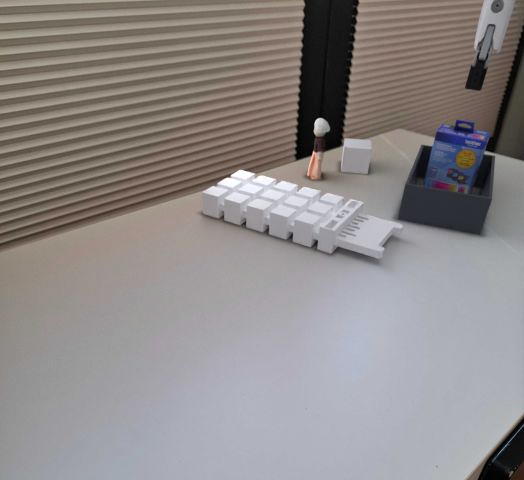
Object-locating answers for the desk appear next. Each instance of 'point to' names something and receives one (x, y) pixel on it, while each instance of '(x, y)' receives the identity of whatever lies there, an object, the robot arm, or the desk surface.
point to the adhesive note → (356, 156)
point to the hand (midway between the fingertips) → (472, 88)
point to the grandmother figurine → (318, 148)
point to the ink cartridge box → (456, 157)
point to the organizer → (298, 214)
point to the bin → (447, 198)
